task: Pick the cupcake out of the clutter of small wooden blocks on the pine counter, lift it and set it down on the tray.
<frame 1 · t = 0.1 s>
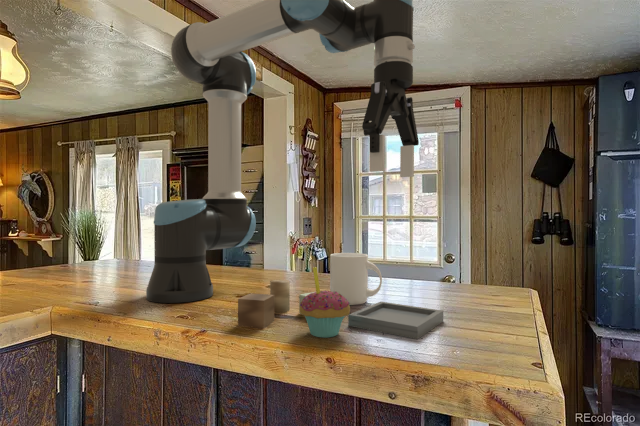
hand: (393, 174, 78), 28 cm above the countertop, fingers open, 13 cm apart
walnut block: (256, 324, 73), on the countertop
oak cylinder: (279, 310, 83), on the countertop
tray: (396, 323, 73), on the countertop
cupcake: (324, 334, 67), on the countertop
mug: (355, 302, 91), on the countertop
sage block: (316, 314, 80), on the countertop
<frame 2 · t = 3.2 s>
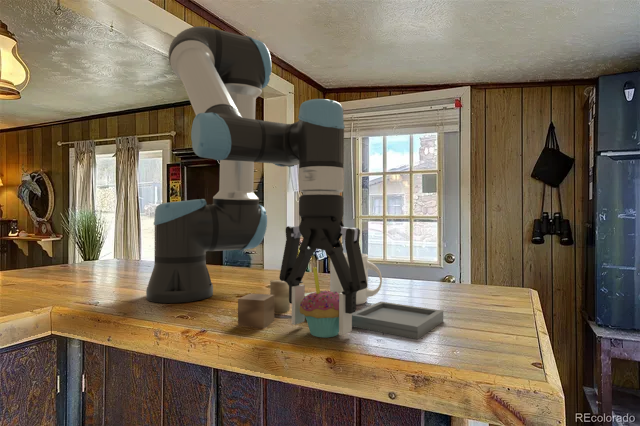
hand: (320, 327, 67), 1 cm above the countertop, fingers open, 9 cm apart
cupcake: (324, 334, 67), on the countertop, touching gripper
everything else where it was.
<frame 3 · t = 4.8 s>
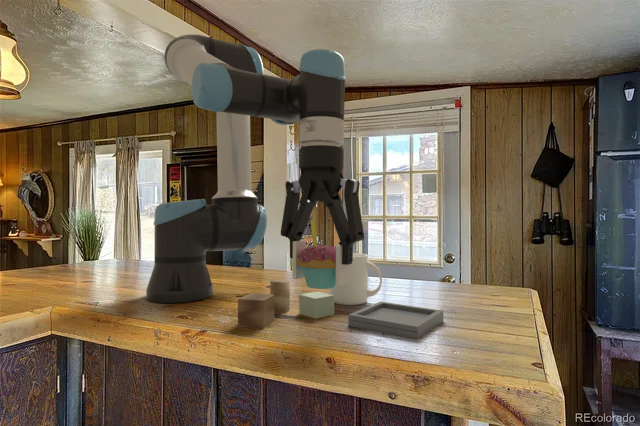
hand: (319, 280, 68), 9 cm above the countertop, fingers closed on cupcake, 8 cm apart
cupcake: (321, 287, 68), point 8 cm above the countertop, touching gripper
everything else where it was.
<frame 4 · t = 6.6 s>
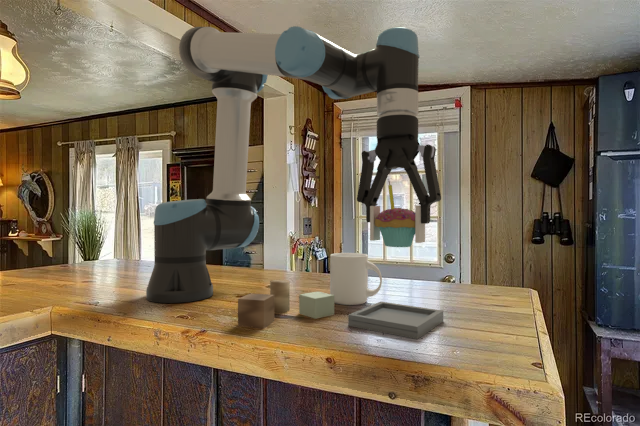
hand: (396, 241, 73), 15 cm above the countertop, fingers closed on cupcake, 8 cm apart
cupcake: (397, 247, 74), point 14 cm above the countertop, touching gripper
everything else where it was.
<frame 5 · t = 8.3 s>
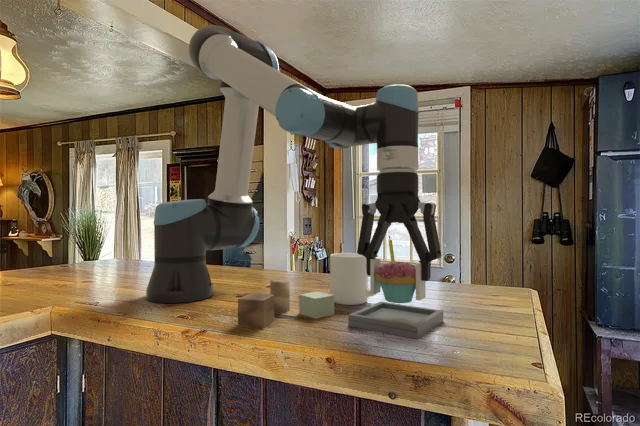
hand: (397, 295, 73), 5 cm above the countertop, fingers closed on cupcake, 8 cm apart
cupcake: (398, 301, 74), point 4 cm above the countertop, touching gripper
everything else where it was.
when the fingers open (4 cm above the countertop, at t = 9.5 s): cupcake drops 2 cm, resting on tray.
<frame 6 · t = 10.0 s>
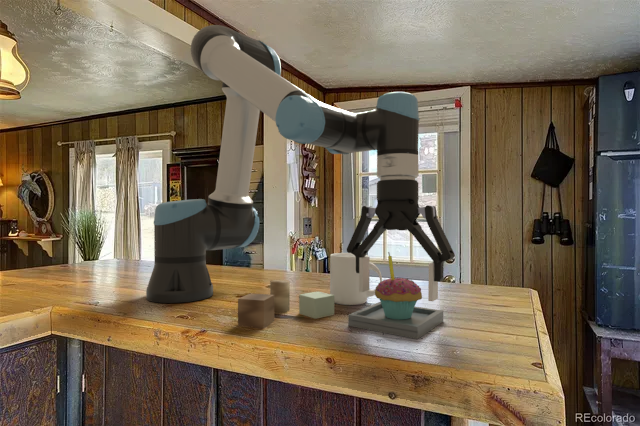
hand: (396, 295, 73), 5 cm above the countertop, fingers open, 13 cm apart
cupcake: (397, 317, 74), point 1 cm above the countertop, touching tray
everything else where it was.
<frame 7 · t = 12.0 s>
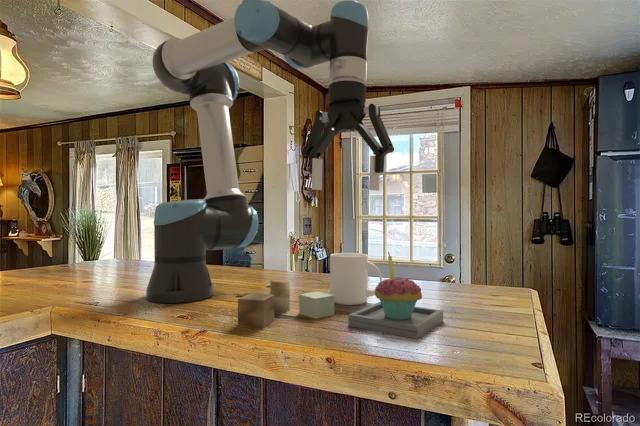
hand: (344, 190, 81), 25 cm above the countertop, fingers open, 13 cm apart
nothing on the countertop moved.
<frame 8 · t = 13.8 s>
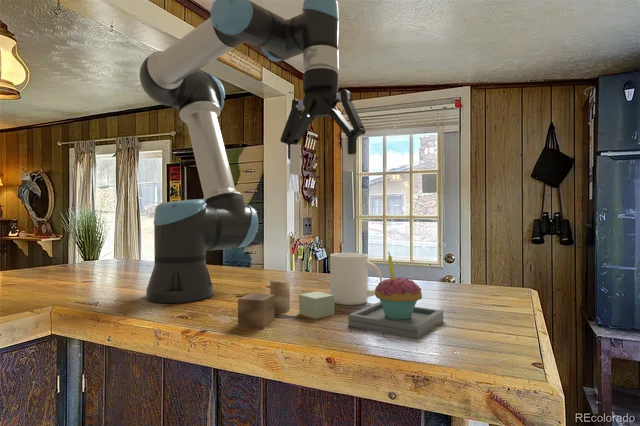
hand: (320, 173, 84), 29 cm above the countertop, fingers open, 13 cm apart
nothing on the countertop moved.
at the end: cupcake inside the target area on the tray (0.5 cm from its centre), point 1.0 cm above the tray's base; cupcake tilted 0°; the gripper is holding nothing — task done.
